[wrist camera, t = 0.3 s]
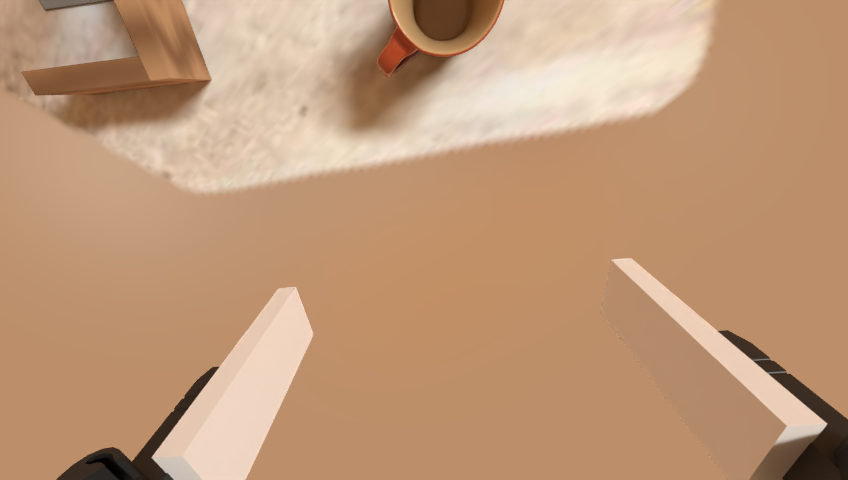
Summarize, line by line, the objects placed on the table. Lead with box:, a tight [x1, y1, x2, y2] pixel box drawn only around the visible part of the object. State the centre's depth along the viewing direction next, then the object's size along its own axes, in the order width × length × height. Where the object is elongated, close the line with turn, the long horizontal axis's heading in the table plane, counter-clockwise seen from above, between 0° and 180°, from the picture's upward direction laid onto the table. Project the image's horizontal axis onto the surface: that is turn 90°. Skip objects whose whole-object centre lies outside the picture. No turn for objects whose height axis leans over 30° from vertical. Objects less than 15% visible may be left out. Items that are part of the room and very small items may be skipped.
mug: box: [376, 0, 504, 77], centre depth 27 cm, size 12×9×10 cm
